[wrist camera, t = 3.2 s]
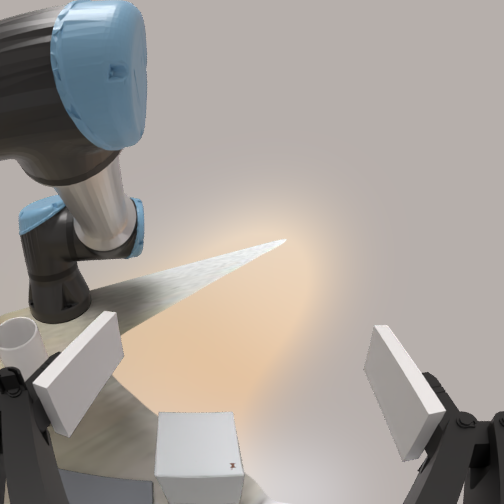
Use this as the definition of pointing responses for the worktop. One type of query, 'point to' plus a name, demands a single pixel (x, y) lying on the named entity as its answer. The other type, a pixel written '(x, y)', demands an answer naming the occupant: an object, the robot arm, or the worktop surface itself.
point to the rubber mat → (105, 489)
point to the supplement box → (198, 458)
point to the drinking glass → (22, 345)
